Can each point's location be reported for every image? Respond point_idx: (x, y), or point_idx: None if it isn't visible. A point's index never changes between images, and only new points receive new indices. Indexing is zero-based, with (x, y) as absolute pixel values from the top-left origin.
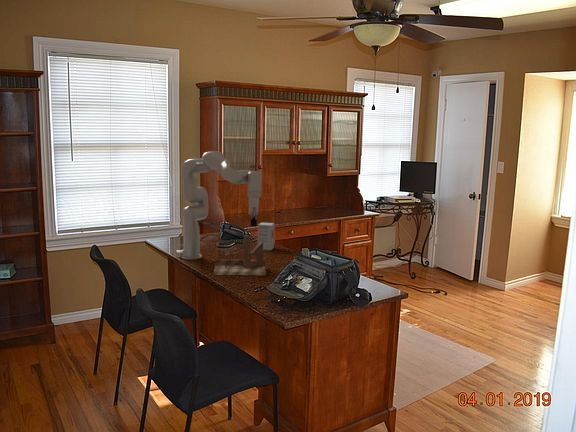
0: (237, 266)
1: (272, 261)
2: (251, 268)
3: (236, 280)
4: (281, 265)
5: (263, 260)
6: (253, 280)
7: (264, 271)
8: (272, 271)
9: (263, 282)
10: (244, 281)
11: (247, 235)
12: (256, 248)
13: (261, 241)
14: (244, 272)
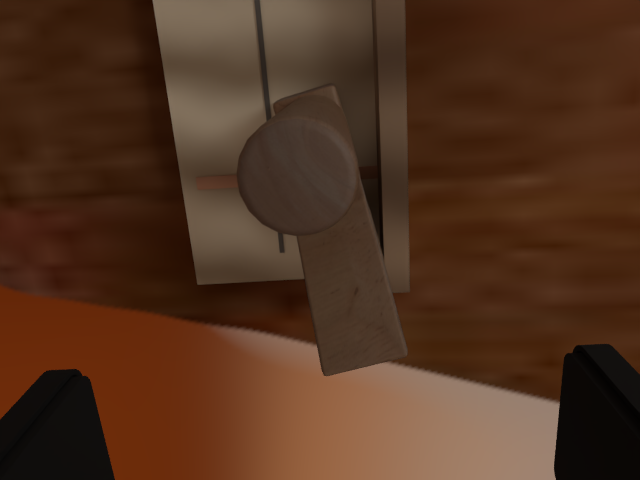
0: (330, 27)
1: (613, 313)
2: None
3: (16, 52)
4: (487, 377)
5: None
6: (52, 189)
7: (201, 273)
8: None
9: (23, 261)
10: (8, 121)
11: (296, 190)
12: (309, 264)
13: (378, 356)
14: (171, 109)
